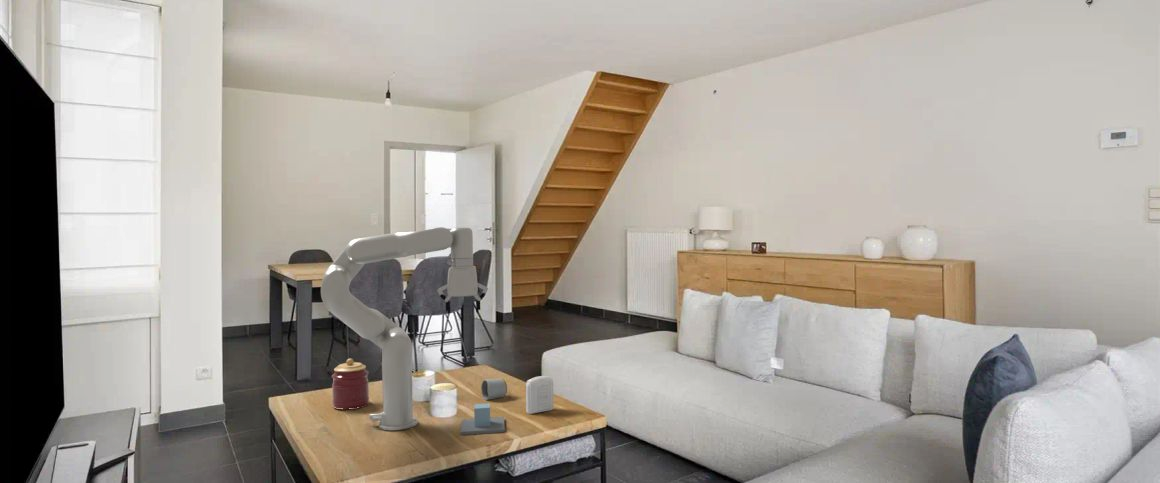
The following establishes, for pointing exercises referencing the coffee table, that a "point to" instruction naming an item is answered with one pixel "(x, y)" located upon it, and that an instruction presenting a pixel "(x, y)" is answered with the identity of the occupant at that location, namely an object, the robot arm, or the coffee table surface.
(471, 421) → the slate pad
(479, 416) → the blue block
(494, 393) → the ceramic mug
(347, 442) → the coffee table surface
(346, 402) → the canister
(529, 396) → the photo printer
